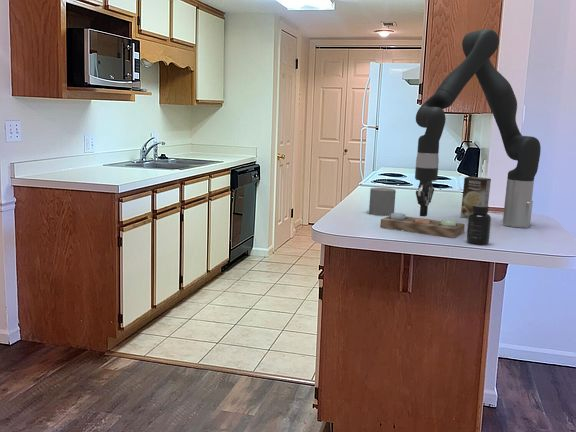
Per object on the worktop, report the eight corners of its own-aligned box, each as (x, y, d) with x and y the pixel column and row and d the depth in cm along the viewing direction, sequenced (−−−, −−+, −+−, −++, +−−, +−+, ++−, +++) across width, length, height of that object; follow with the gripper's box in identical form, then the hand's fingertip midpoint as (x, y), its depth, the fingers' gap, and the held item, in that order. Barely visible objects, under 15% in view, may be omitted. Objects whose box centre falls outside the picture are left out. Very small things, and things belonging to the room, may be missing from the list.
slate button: (406, 222, 207) (407, 214, 206) (401, 224, 202) (402, 215, 202) (393, 220, 209) (394, 212, 209) (388, 222, 205) (388, 214, 204)
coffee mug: (396, 216, 227) (398, 191, 225) (371, 215, 227) (372, 190, 225) (389, 210, 240) (391, 186, 238) (365, 209, 240) (367, 185, 238)
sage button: (457, 229, 197) (457, 220, 197) (453, 231, 193) (453, 222, 193) (442, 227, 200) (443, 218, 199) (438, 229, 196) (439, 220, 195)
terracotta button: (431, 228, 202) (431, 220, 202) (426, 230, 198) (427, 222, 197) (417, 226, 205) (418, 218, 204) (412, 228, 200) (413, 220, 200)
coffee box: (459, 217, 230) (463, 177, 227) (464, 215, 235) (468, 176, 232) (482, 220, 225) (486, 179, 222) (487, 218, 230) (491, 178, 227)
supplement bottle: (471, 239, 189) (474, 203, 187) (492, 243, 184) (495, 205, 182) (462, 242, 183) (466, 205, 181) (483, 246, 179) (487, 208, 177)
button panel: (463, 232, 200) (464, 223, 199) (454, 238, 190) (454, 229, 189) (393, 222, 213) (393, 214, 213) (380, 227, 203) (380, 219, 202)
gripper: (431, 168, 190) (427, 220, 193) (443, 165, 201) (439, 214, 204) (409, 166, 194) (406, 217, 197) (422, 164, 205) (419, 212, 208)
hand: (423, 216), depth 201 cm, fingers closed
